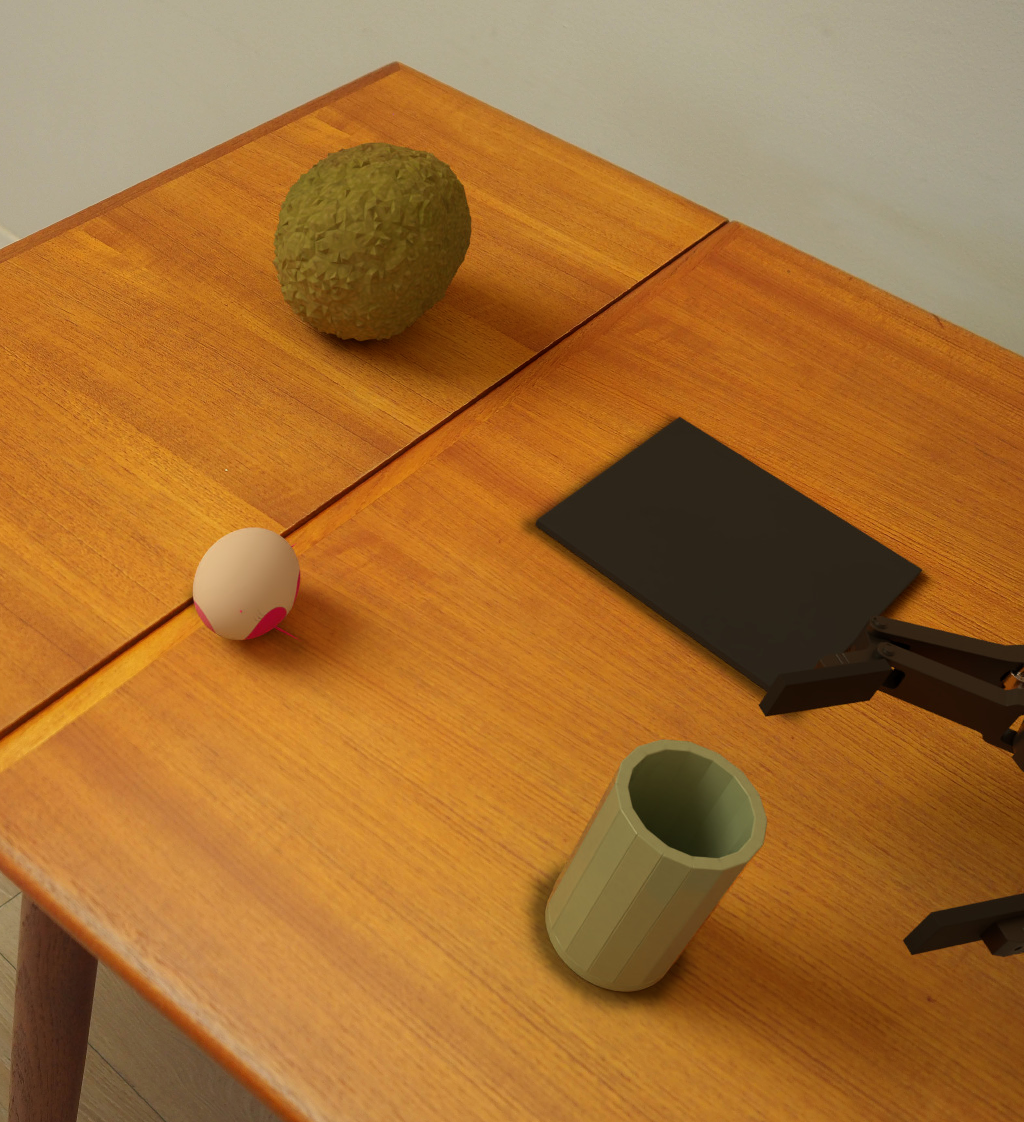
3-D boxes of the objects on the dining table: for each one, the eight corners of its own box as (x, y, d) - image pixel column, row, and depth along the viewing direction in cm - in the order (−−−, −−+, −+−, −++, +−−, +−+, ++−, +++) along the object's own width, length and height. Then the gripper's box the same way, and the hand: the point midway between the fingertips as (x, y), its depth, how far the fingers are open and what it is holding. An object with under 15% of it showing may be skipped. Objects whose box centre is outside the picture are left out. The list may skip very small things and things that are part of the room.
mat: (919, 575, 87) (923, 569, 87) (791, 709, 78) (795, 703, 77) (677, 422, 96) (679, 416, 96) (534, 525, 86) (536, 519, 86)
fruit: (250, 245, 106) (350, 83, 99) (393, 338, 108) (500, 185, 102) (225, 298, 91) (339, 112, 85) (390, 403, 94) (514, 230, 87)
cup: (699, 935, 66) (794, 809, 57) (626, 1019, 62) (716, 898, 54) (594, 847, 69) (669, 715, 60) (518, 923, 65) (587, 793, 57)
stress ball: (233, 699, 77) (297, 674, 72) (144, 604, 75) (203, 571, 70) (294, 619, 82) (359, 590, 77) (212, 528, 80) (272, 491, 75)
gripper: (1314, 999, 62) (953, 1089, 57) (1000, 614, 78) (696, 656, 73) (1433, 926, 56) (1046, 1018, 51) (1070, 528, 73) (747, 567, 67)
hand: (840, 806), depth 62 cm, fingers open, 13 cm apart
